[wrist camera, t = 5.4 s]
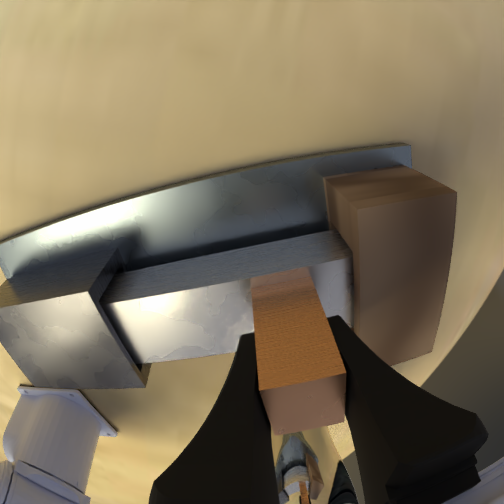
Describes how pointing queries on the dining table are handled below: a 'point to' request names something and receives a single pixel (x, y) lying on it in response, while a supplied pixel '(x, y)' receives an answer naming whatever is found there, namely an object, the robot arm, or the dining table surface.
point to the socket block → (395, 254)
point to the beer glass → (310, 469)
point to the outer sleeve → (149, 256)
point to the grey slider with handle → (249, 319)
